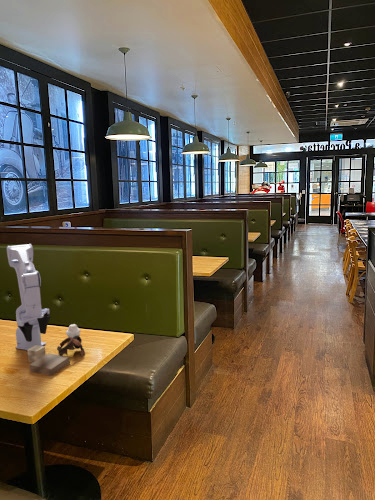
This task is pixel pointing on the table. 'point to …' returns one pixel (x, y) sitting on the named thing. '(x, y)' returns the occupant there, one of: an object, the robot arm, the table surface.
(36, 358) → the maple cube
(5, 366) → the table surface
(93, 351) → the table surface
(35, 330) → the robot arm
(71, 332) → the white rounded piece
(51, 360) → the grey flat square block
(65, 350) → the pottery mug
